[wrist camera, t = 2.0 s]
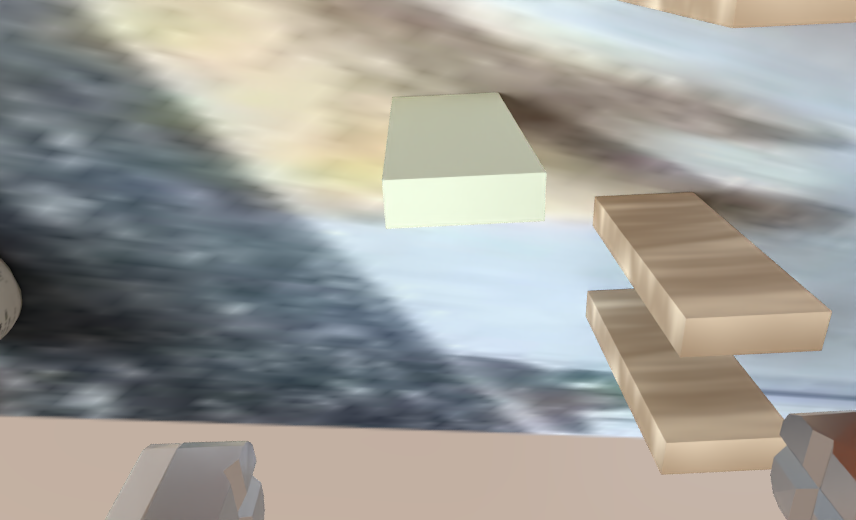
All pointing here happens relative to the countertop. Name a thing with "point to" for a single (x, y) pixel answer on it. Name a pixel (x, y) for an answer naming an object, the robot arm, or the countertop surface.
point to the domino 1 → (459, 164)
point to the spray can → (8, 299)
